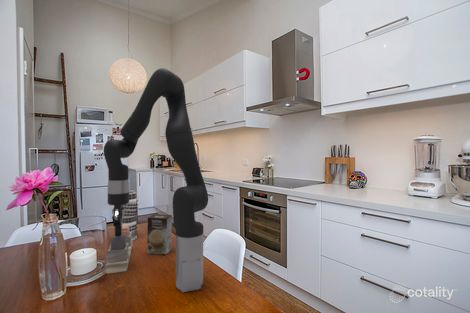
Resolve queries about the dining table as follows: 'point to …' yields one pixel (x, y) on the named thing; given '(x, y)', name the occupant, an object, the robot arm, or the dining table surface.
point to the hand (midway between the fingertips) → (118, 235)
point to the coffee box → (159, 234)
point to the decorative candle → (131, 213)
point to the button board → (119, 257)
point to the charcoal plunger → (118, 243)
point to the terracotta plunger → (125, 230)
